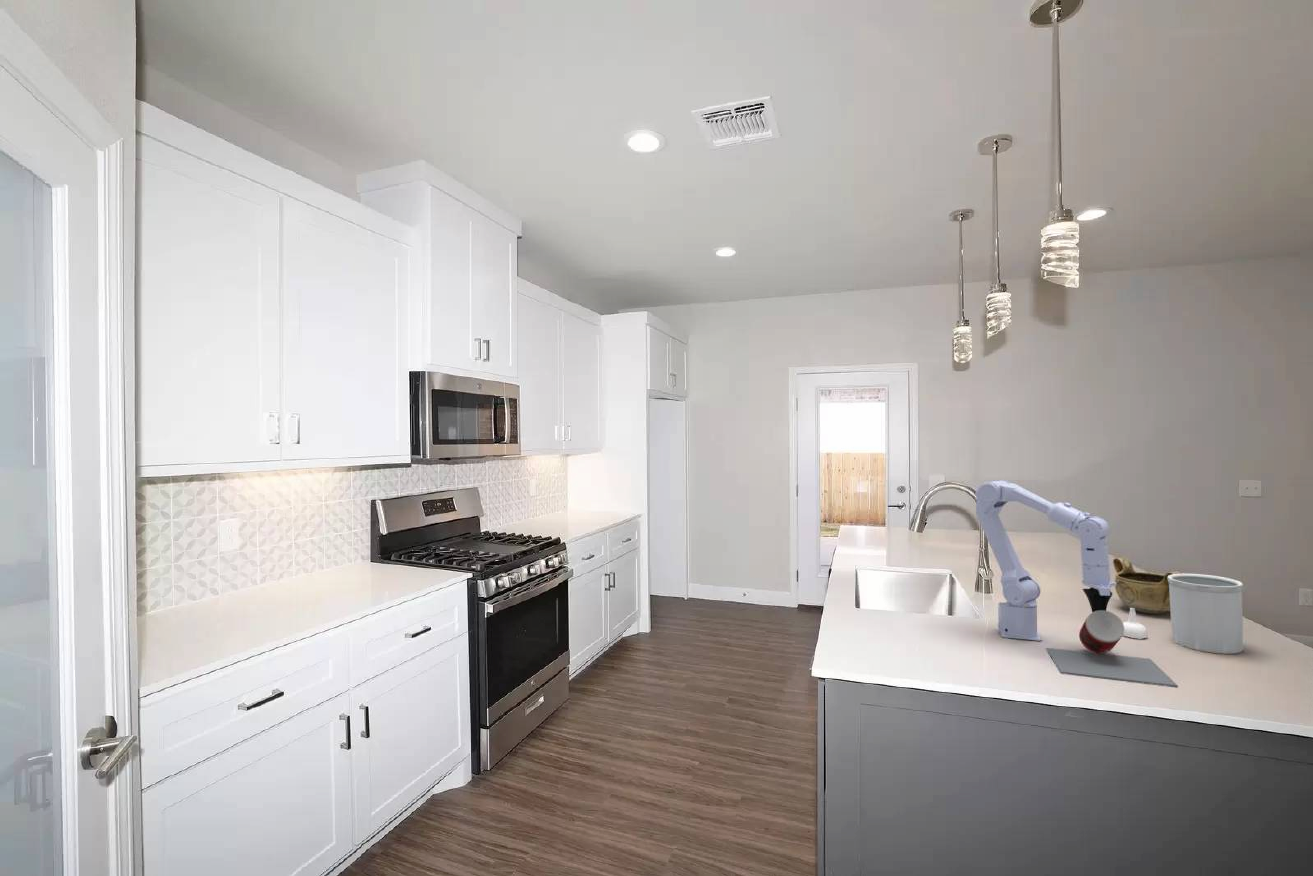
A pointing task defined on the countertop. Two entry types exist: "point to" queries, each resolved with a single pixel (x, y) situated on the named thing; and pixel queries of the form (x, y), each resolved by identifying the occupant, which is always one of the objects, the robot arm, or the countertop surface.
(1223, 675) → the countertop surface
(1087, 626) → the canned food
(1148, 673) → the slate mat
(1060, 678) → the countertop surface
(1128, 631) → the garlic bulb
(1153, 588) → the ceramic bowl
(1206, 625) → the utensil holder
